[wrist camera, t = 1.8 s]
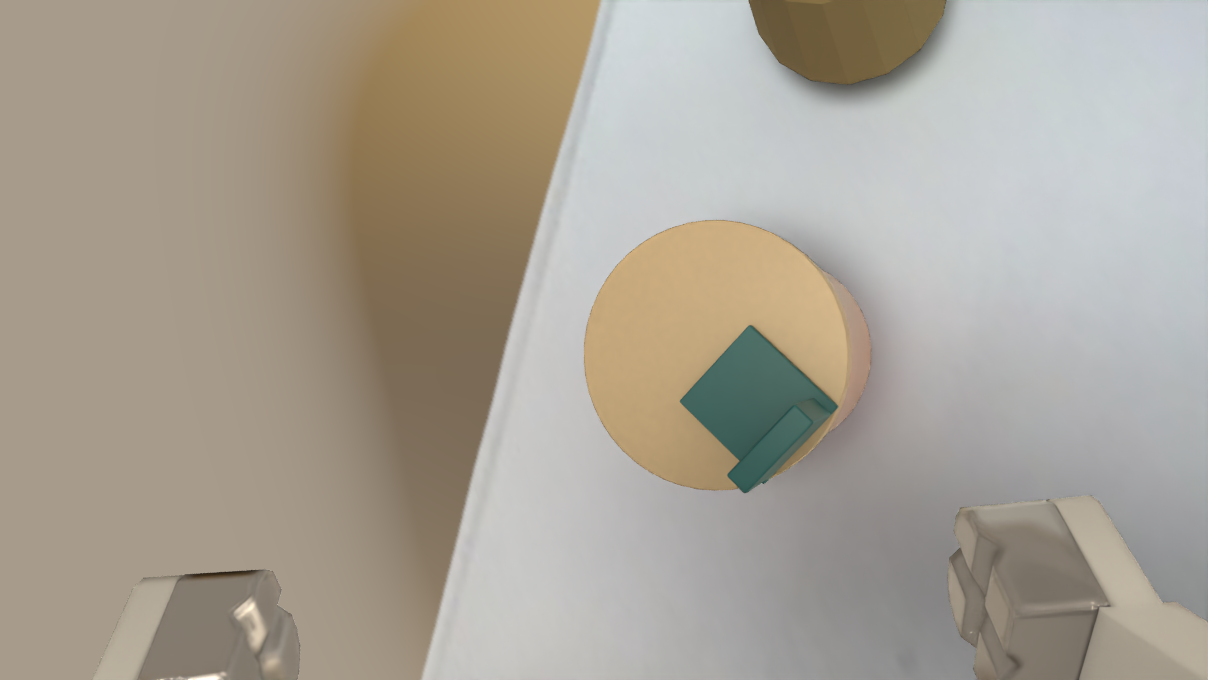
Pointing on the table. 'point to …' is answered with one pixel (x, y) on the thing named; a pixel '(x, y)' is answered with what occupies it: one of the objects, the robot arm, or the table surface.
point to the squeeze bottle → (845, 35)
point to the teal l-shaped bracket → (757, 407)
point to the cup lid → (705, 339)
